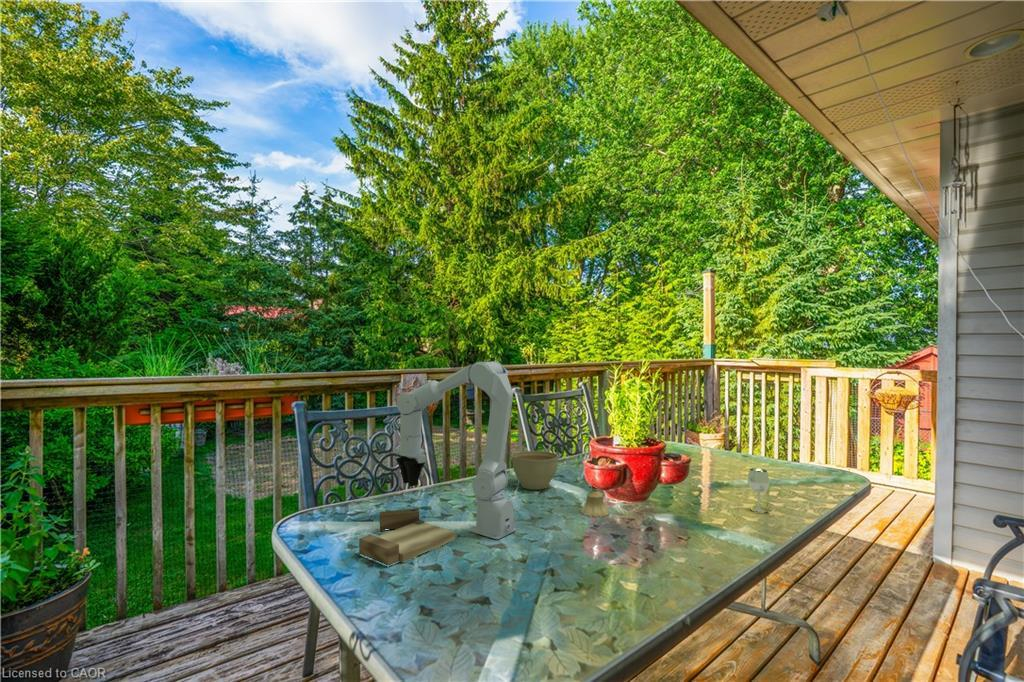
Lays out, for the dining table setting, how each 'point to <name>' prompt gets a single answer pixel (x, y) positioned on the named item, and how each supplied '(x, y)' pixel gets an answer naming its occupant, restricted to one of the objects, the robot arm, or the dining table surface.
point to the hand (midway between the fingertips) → (410, 484)
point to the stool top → (405, 542)
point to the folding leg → (398, 518)
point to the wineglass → (758, 483)
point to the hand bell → (594, 501)
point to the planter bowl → (534, 468)
